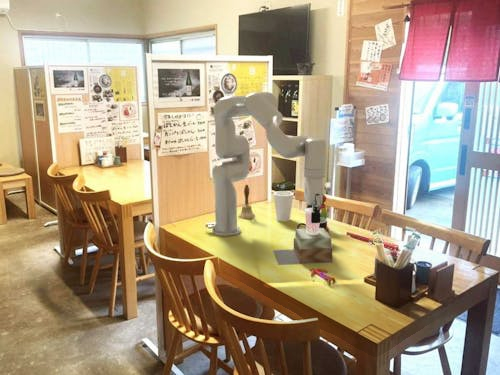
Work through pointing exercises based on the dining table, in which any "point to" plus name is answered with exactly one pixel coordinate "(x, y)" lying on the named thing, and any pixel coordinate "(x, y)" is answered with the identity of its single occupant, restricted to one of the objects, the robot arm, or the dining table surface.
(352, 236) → the long red tool
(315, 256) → the marbled stone cube
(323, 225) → the coffee mug
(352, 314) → the dining table surface
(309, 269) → the toy figure
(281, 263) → the base board
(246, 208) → the hand bell
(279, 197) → the foam cup
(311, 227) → the beverage cup
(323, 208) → the stacking bear
